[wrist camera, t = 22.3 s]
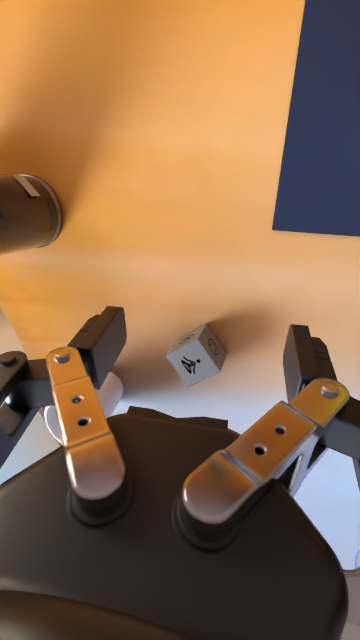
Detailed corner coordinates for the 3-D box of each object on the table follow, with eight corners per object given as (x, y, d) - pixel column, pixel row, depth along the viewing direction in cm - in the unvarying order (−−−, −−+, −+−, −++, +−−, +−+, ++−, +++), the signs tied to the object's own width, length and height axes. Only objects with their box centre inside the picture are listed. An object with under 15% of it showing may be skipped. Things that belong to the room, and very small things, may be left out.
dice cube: (177, 339, 45) (165, 355, 40) (206, 323, 42) (197, 338, 38) (197, 367, 45) (187, 387, 41) (227, 353, 43) (220, 372, 39)
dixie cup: (108, 353, 49) (69, 389, 40) (141, 395, 50) (109, 439, 41) (75, 376, 53) (32, 413, 44) (106, 414, 54) (71, 458, 45)
